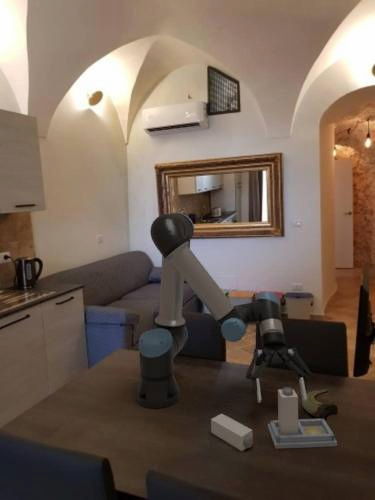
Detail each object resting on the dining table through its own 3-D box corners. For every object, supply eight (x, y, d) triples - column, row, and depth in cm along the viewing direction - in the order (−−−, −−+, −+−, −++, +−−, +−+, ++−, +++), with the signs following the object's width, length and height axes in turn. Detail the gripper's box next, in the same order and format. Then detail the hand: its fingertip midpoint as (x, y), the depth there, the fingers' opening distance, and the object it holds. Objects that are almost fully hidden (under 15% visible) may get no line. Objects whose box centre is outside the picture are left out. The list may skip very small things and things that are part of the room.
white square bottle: (282, 437, 110) (281, 394, 108) (278, 428, 114) (277, 386, 113) (298, 436, 110) (297, 393, 108) (293, 427, 114) (293, 385, 113)
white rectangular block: (211, 433, 116) (210, 419, 115) (222, 427, 119) (221, 413, 118) (244, 453, 106) (244, 438, 105) (255, 446, 109) (255, 431, 108)
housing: (275, 448, 107) (275, 439, 107) (267, 427, 117) (267, 419, 117) (337, 446, 107) (337, 437, 107) (324, 425, 117) (324, 417, 117)
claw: (342, 423, 118) (341, 412, 118) (307, 423, 119) (307, 412, 119) (326, 392, 138) (325, 383, 137) (296, 393, 139) (296, 383, 139)
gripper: (307, 339, 133) (321, 403, 120) (234, 341, 133) (240, 405, 121) (312, 329, 127) (327, 396, 114) (235, 331, 128) (241, 398, 115)
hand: (282, 401), depth 117 cm, fingers open, 13 cm apart
